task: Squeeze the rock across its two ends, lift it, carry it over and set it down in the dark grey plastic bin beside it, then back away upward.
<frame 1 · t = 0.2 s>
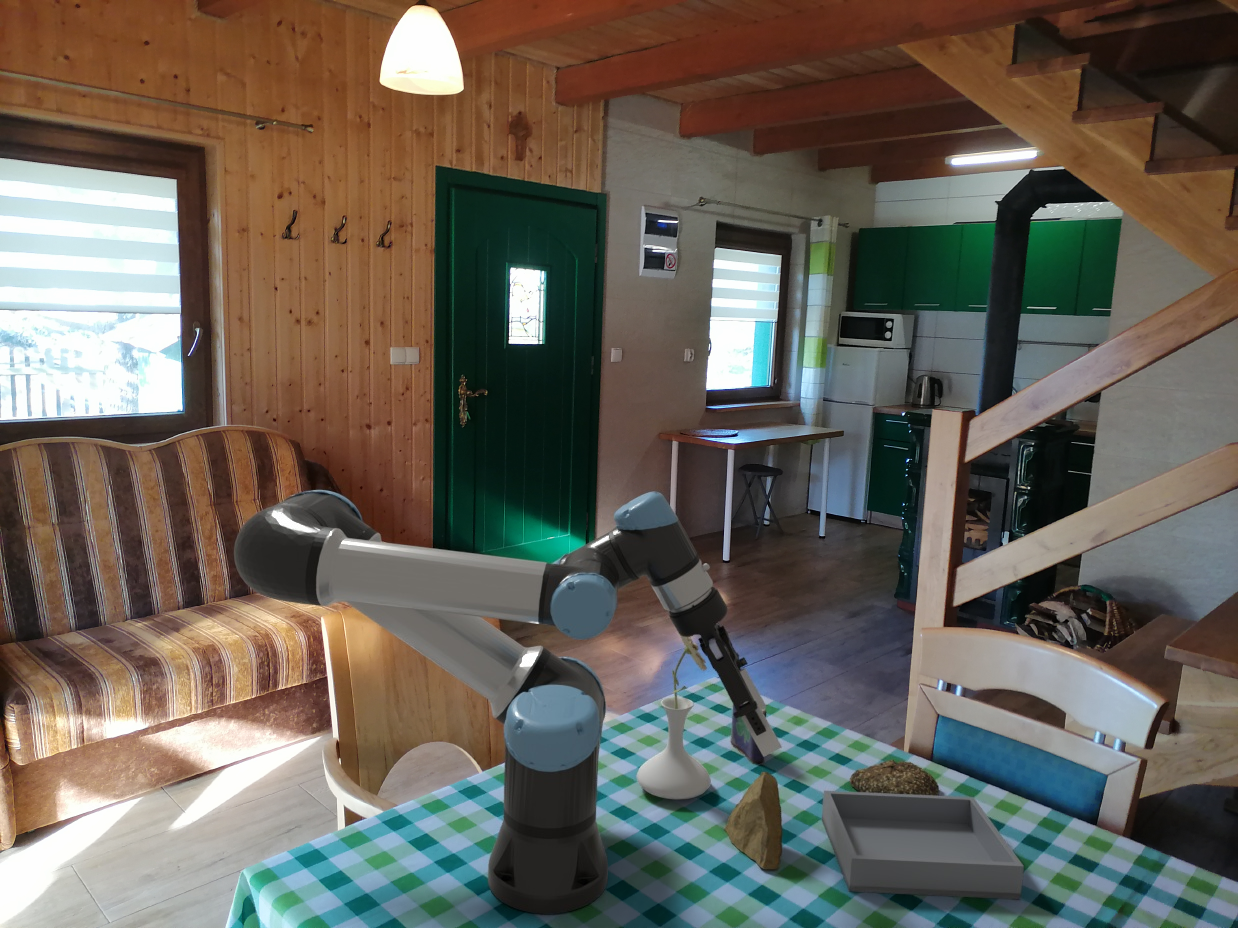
hand: (764, 729, 129), 15 cm above the table, tool tilted 30°, fingers open, 13 cm apart
bin: (914, 856, 127), on the table
bread roll: (896, 792, 145), on the table
flask: (747, 753, 157), on the table
rock: (751, 851, 127), on the table
flower in vase: (673, 787, 144), on the table
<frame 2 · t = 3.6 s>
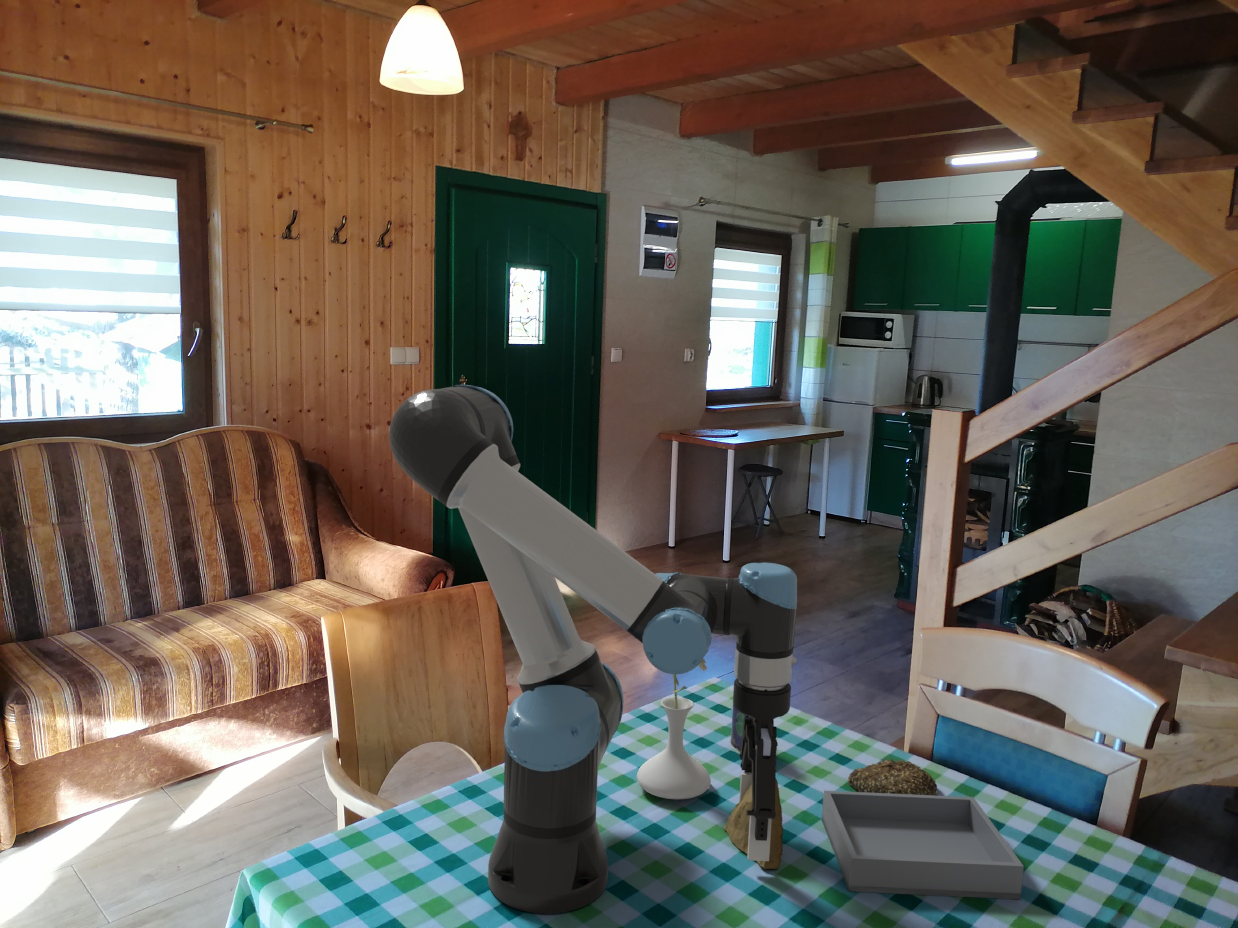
hand: (753, 837, 127), 2 cm above the table, tool pointing down, fingers closed on rock, 10 cm apart
rock: (752, 850, 127), on the table, touching gripper
everything else where it was.
when the fingers open (5 cm above the table, at t = 12.1 s): rock drops 3 cm, resting on bin.
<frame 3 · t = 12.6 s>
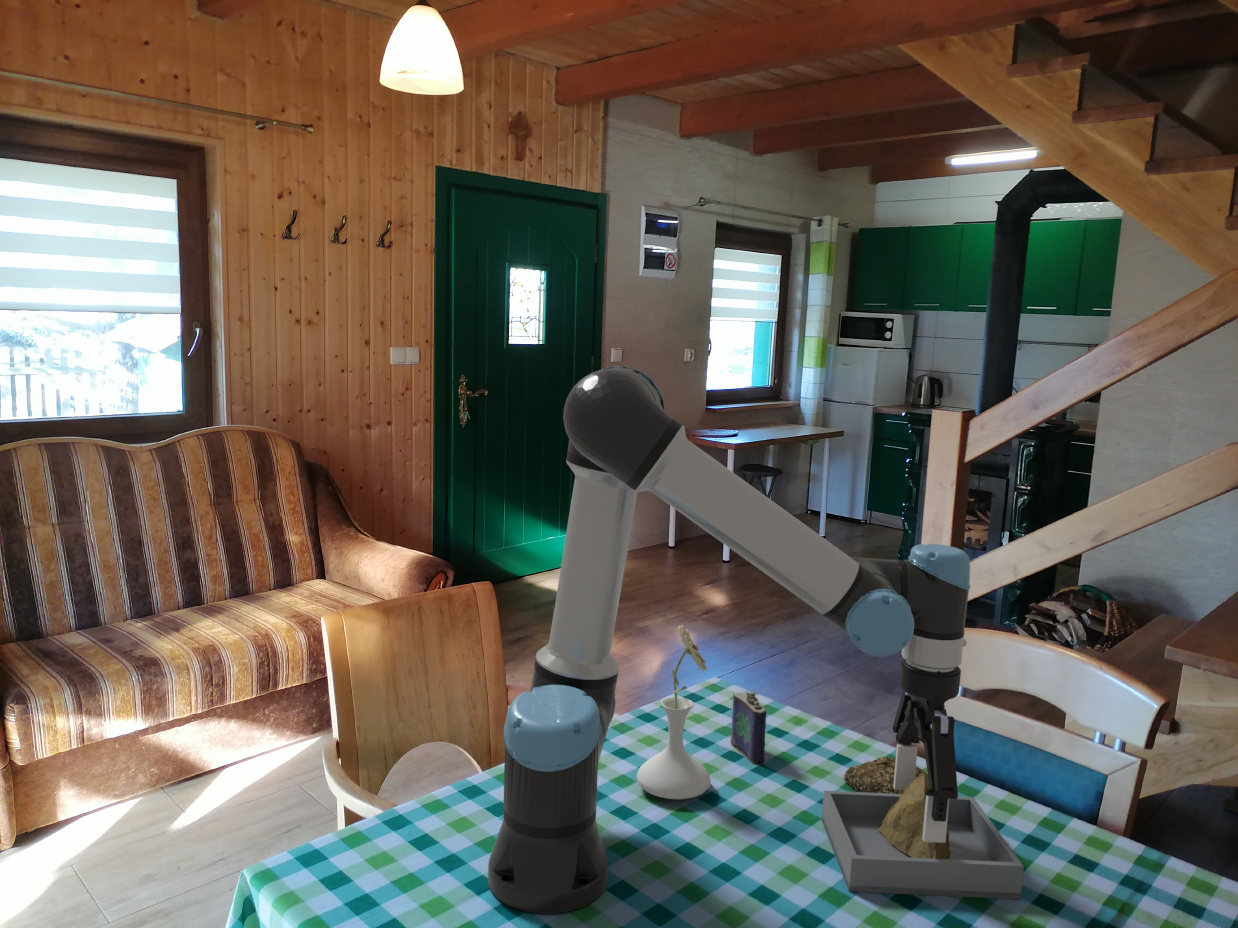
hand: (917, 813, 126), 6 cm above the table, tool pointing down, fingers open, 13 cm apart
rock: (913, 852, 126), point 1 cm above the table, touching bin
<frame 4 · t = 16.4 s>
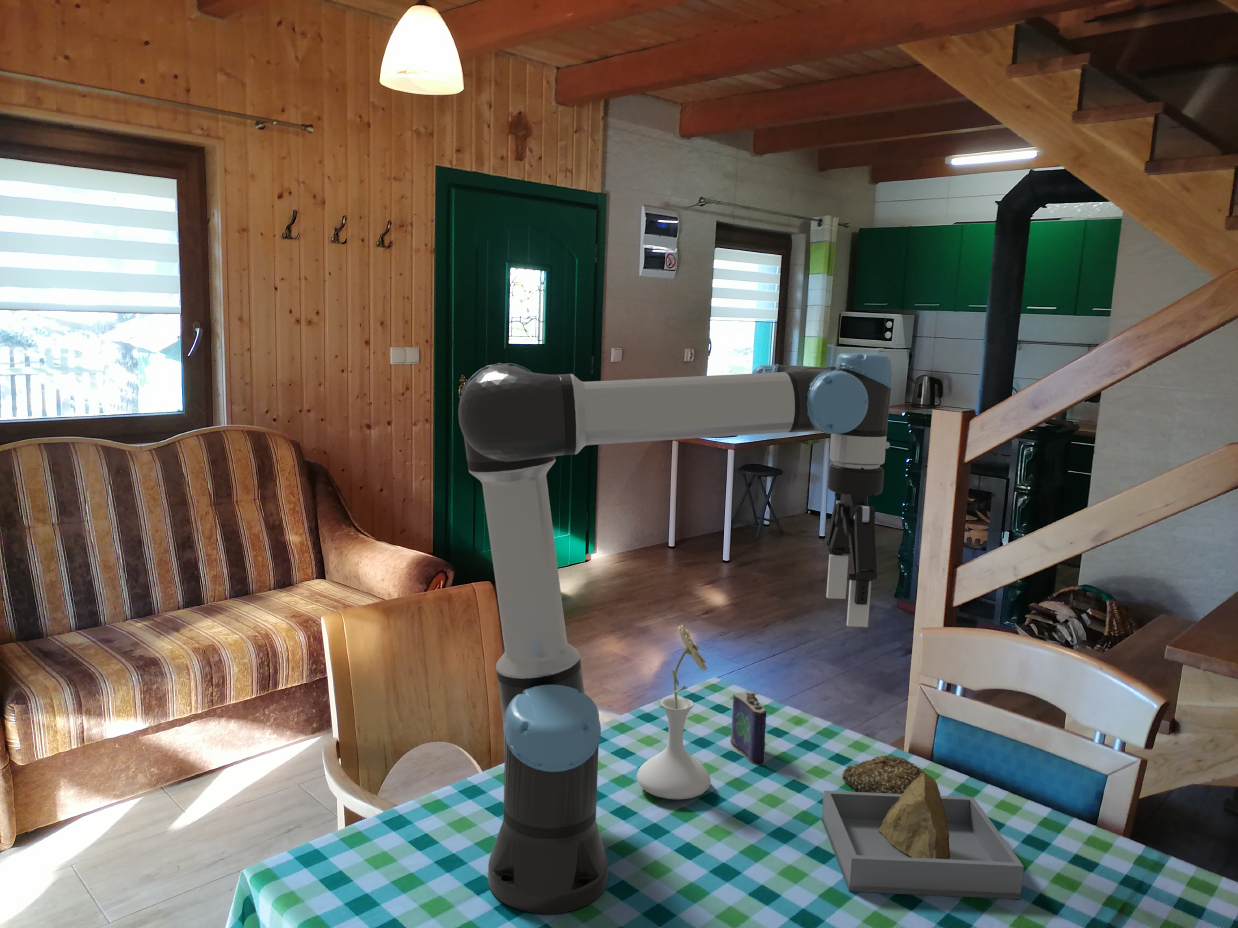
hand: (845, 611, 133), 31 cm above the table, tool pointing down, fingers open, 13 cm apart
at the end: rock inside the target area on the bin (0.2 cm from its centre), point 0.6 cm above the bin's base; rock tilted 2°; the gripper is holding nothing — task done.
